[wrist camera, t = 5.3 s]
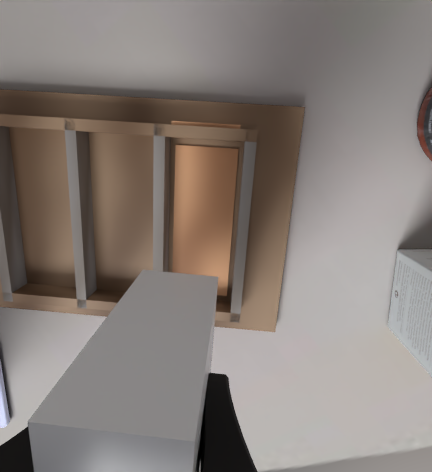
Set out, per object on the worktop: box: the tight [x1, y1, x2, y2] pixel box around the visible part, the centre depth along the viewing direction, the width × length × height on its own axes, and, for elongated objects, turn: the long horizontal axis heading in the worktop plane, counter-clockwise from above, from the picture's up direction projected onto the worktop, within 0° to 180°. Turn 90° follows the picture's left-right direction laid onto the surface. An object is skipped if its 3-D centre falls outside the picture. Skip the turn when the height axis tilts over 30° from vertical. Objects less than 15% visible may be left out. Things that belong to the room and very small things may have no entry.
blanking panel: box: [28, 270, 218, 472], centre depth 10 cm, size 3×8×7 cm, turn 176°
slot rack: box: [0, 89, 305, 332], centre depth 19 cm, size 20×14×2 cm
